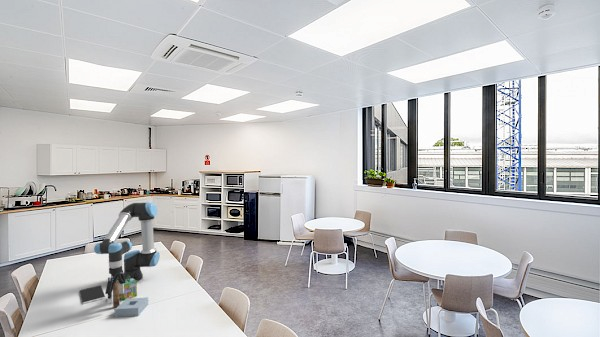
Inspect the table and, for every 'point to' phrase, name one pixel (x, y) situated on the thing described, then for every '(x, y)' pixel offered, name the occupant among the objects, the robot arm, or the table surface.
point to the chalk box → (129, 289)
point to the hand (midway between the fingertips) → (116, 297)
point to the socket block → (131, 307)
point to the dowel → (116, 295)
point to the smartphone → (92, 294)
